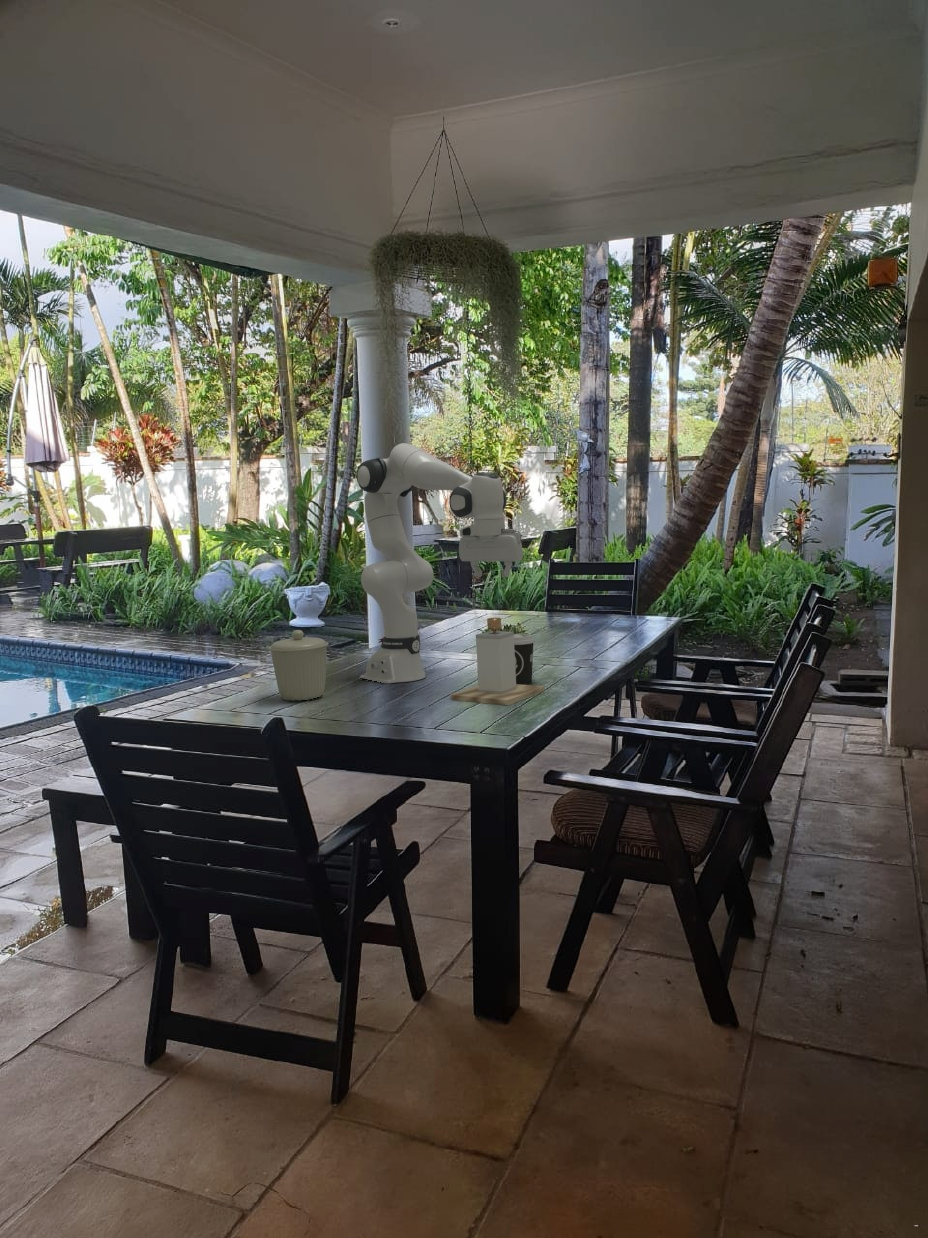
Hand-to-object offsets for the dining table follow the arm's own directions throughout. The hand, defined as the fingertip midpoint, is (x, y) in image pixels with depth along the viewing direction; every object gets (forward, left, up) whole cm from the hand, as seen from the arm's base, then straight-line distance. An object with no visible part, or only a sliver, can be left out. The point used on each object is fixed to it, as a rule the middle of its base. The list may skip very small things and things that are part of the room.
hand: (491, 576), depth 284 cm
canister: (-55, -26, -35) cm, 70 cm away
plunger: (0, 0, -33) cm, 33 cm away
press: (0, +1, -33) cm, 34 cm away
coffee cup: (-3, +17, -35) cm, 39 cm away
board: (0, -1, -35) cm, 35 cm away
